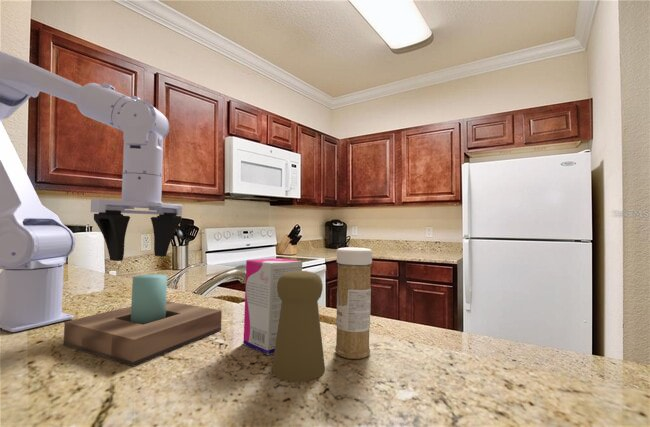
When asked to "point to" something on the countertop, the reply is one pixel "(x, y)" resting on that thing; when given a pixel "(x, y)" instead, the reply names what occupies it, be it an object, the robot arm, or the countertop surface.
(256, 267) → the supplement box
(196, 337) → the socket block
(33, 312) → the robot arm
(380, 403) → the countertop surface
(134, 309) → the peg
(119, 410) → the countertop surface
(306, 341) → the brown tall rounded piece
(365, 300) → the sprinkles bottle
